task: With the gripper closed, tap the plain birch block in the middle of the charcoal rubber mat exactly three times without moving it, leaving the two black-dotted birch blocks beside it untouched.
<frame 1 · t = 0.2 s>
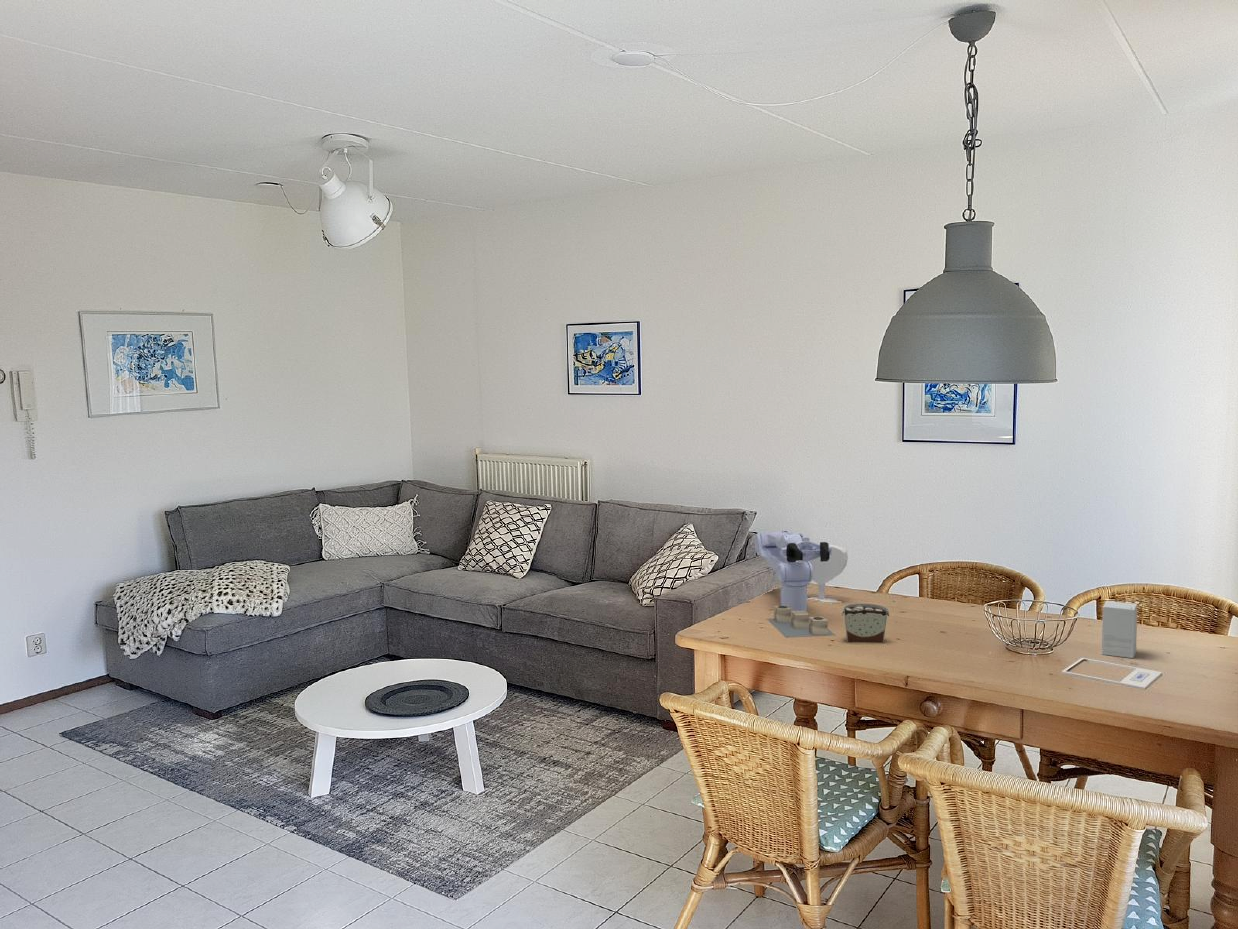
hand: (815, 556, 267), 21 cm above the table, tool horizontal, fingers open, 7 cm apart
tapping mat: (800, 629, 270), on the table
dotted block 1: (782, 620, 276), point 1 cm above the table, touching tapping mat
photo frame: (1111, 676, 227), on the table
supplement box: (1118, 654, 243), on the table
plain block: (800, 626, 270), point 1 cm above the table, touching tapping mat
heart sculpture: (821, 601, 303), on the table
dotted block 2: (818, 632, 263), point 1 cm above the table, touching tapping mat
food container: (863, 643, 256), on the table
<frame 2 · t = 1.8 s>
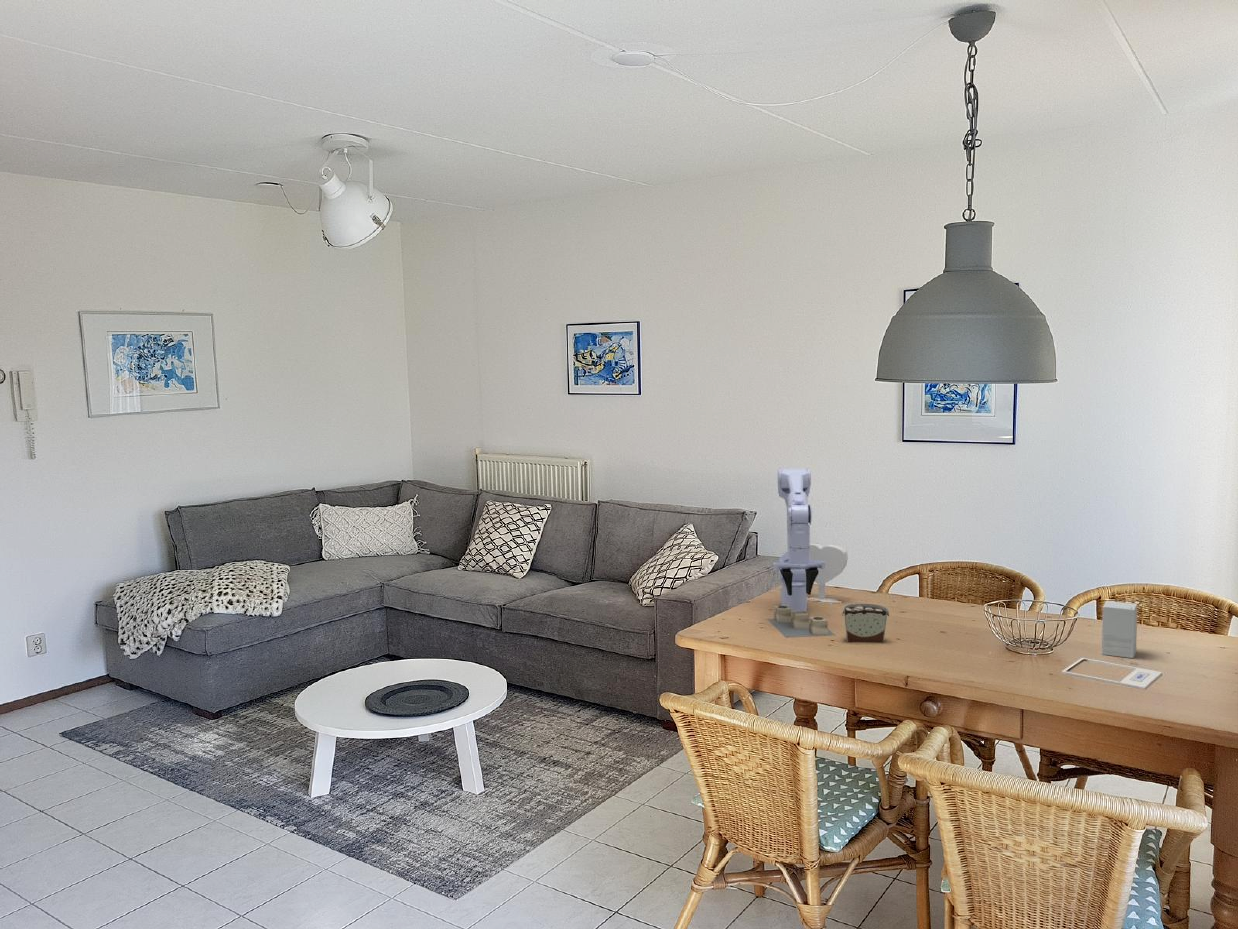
hand: (799, 594, 270), 10 cm above the table, tool pointing down, fingers open, 5 cm apart
nothing on the table moved.
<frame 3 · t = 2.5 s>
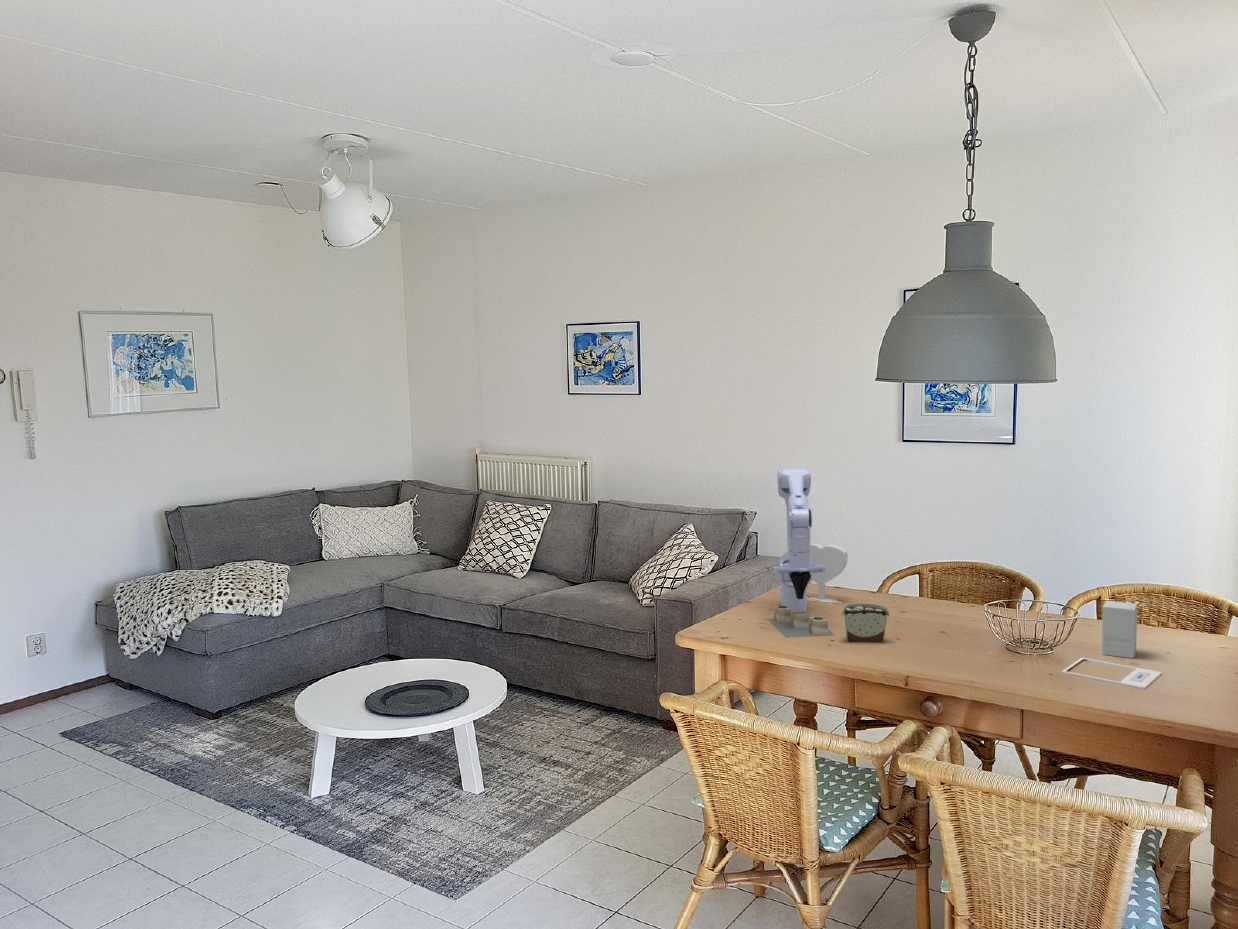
hand: (799, 598, 269), 9 cm above the table, tool pointing down, fingers closed
nothing on the table moved.
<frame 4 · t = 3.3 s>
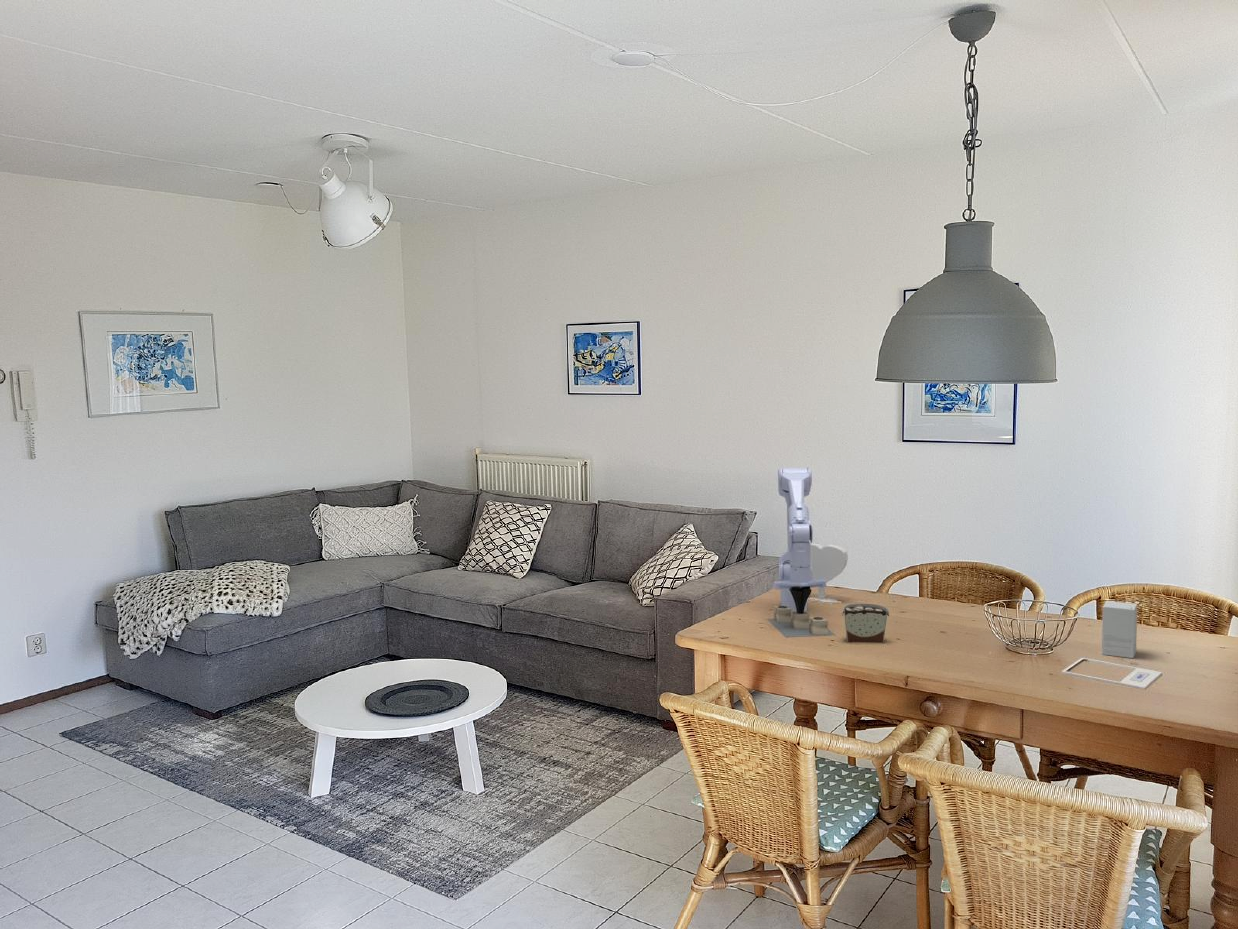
hand: (800, 613, 269), 5 cm above the table, tool pointing down, fingers closed, pressing on plain block
plain block: (800, 626, 270), point 1 cm above the table, touching gripper, tapping mat
everything else where it was.
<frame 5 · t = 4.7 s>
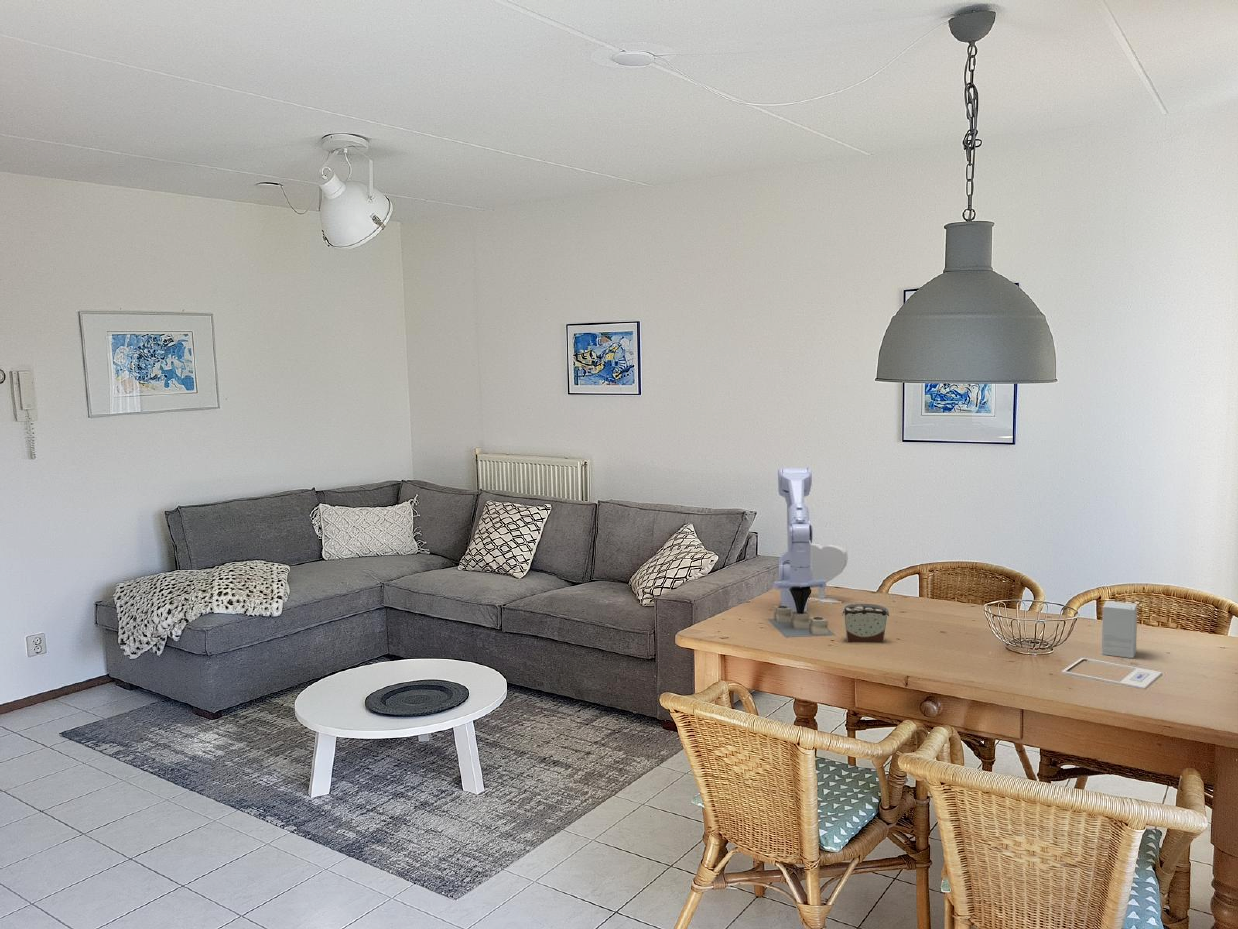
hand: (800, 613, 269), 5 cm above the table, tool pointing down, fingers closed, pressing on plain block
plain block: (800, 626, 270), point 1 cm above the table, touching gripper, tapping mat
everything else where it was.
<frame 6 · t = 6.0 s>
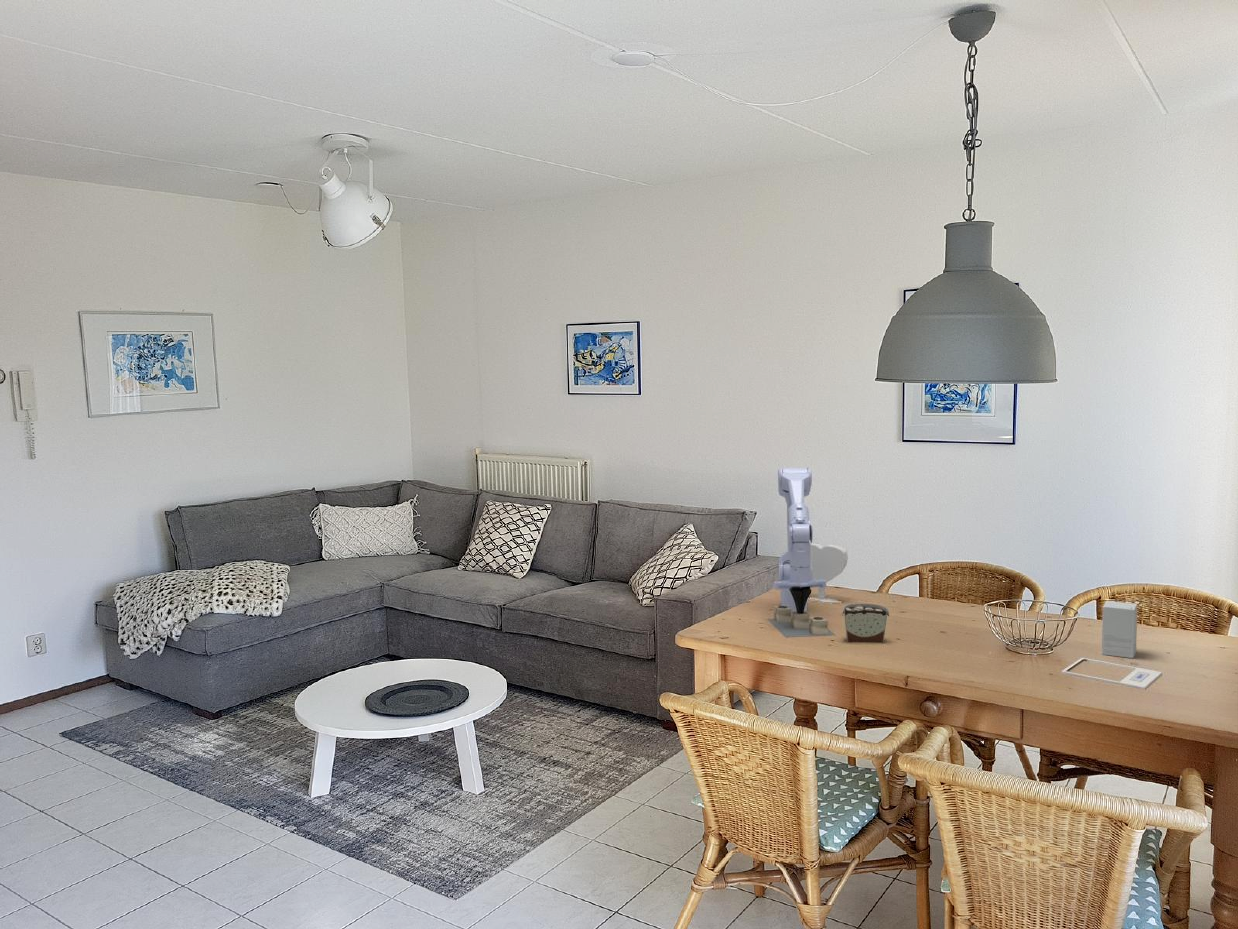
hand: (800, 613, 269), 5 cm above the table, tool pointing down, fingers closed, pressing on plain block
plain block: (800, 626, 270), point 1 cm above the table, touching gripper, tapping mat
everything else where it was.
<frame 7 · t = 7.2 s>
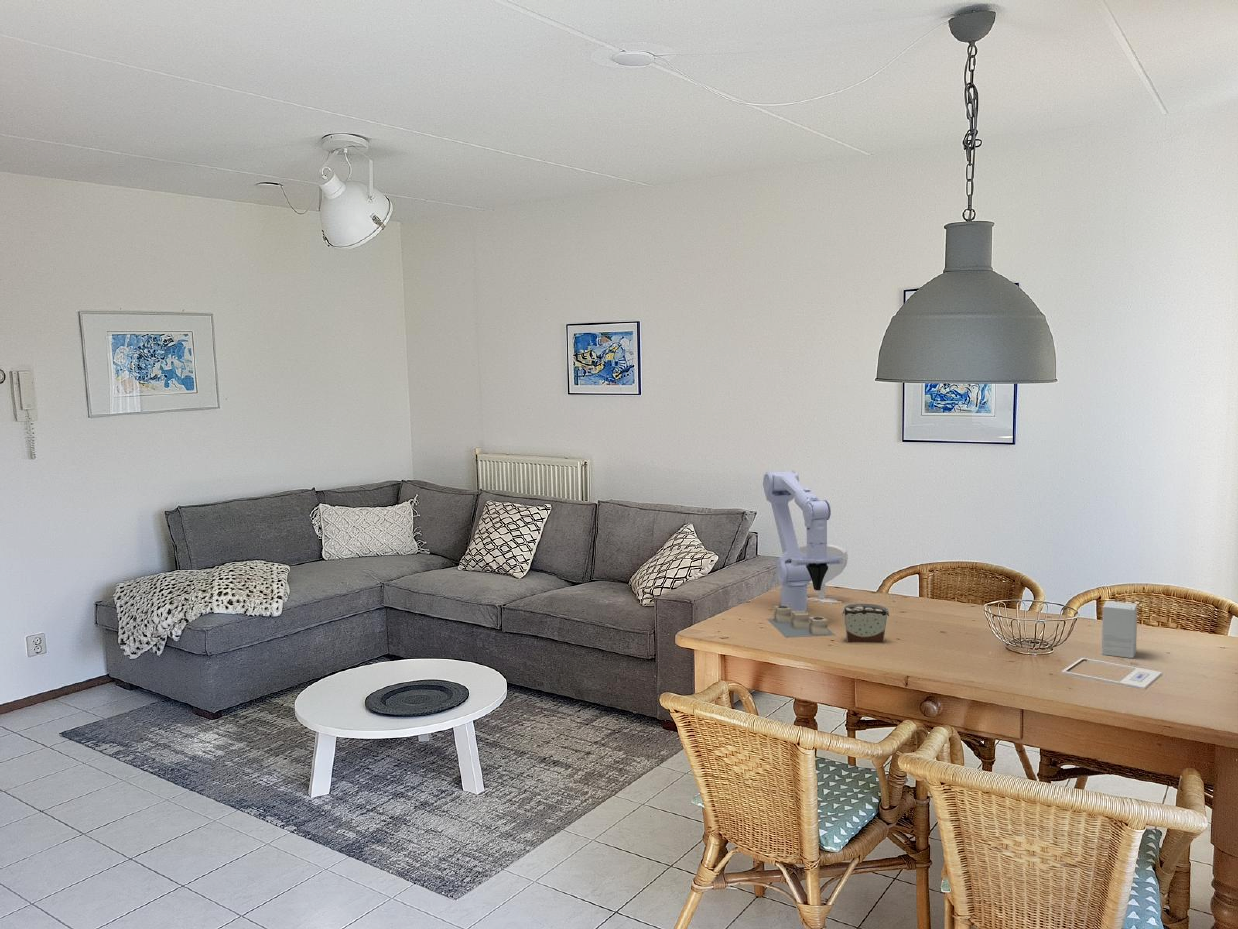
hand: (817, 589, 273), 10 cm above the table, tool pointing down, fingers closed
plain block: (800, 626, 270), point 1 cm above the table, touching tapping mat
everything else where it was.
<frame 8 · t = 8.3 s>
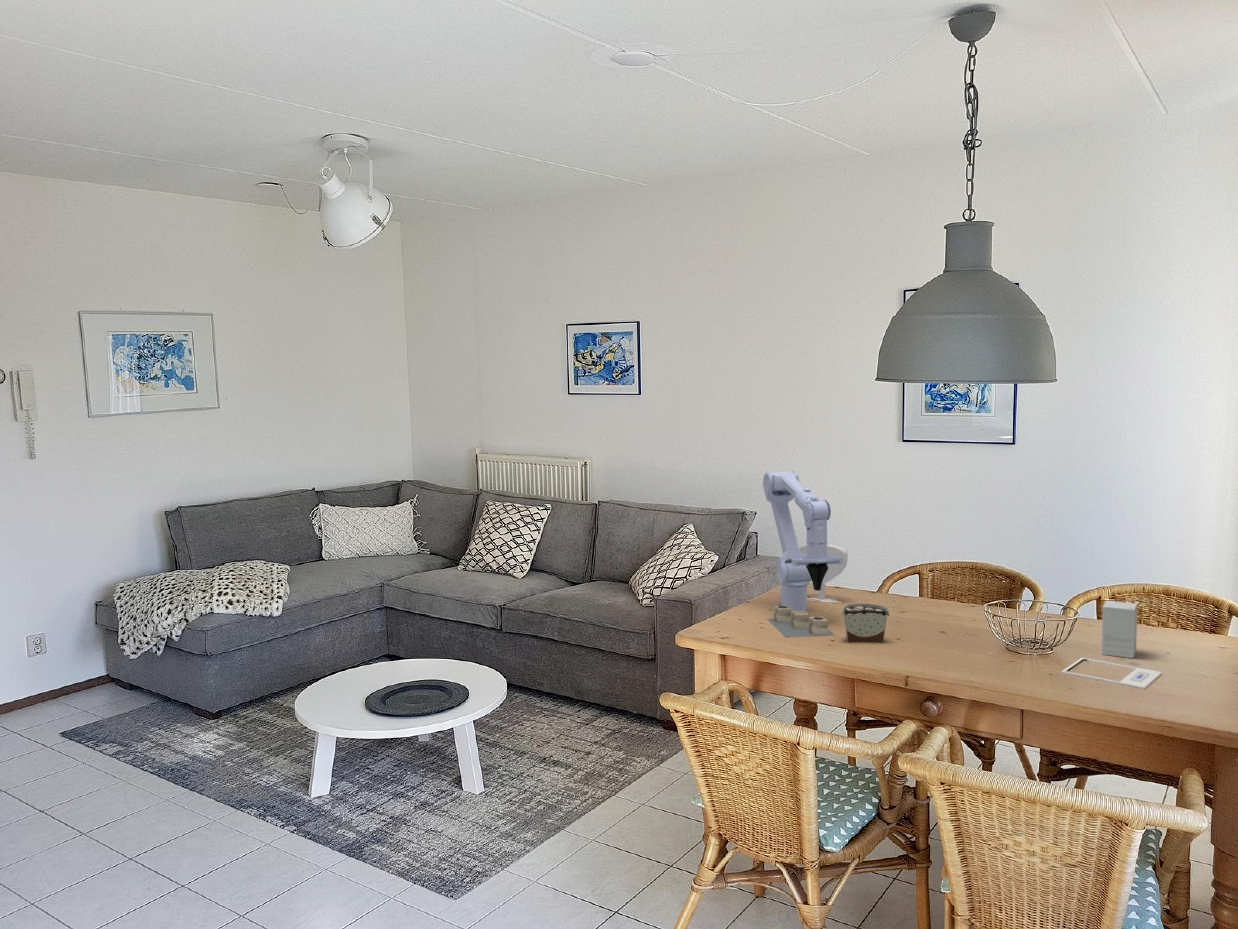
hand: (817, 589, 273), 10 cm above the table, tool pointing down, fingers closed
nothing on the table moved.
at the end: plain block moved 0.0 cm from its start; dotted block 1 moved 0.0 cm from its start; dotted block 2 moved 0.0 cm from its start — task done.
